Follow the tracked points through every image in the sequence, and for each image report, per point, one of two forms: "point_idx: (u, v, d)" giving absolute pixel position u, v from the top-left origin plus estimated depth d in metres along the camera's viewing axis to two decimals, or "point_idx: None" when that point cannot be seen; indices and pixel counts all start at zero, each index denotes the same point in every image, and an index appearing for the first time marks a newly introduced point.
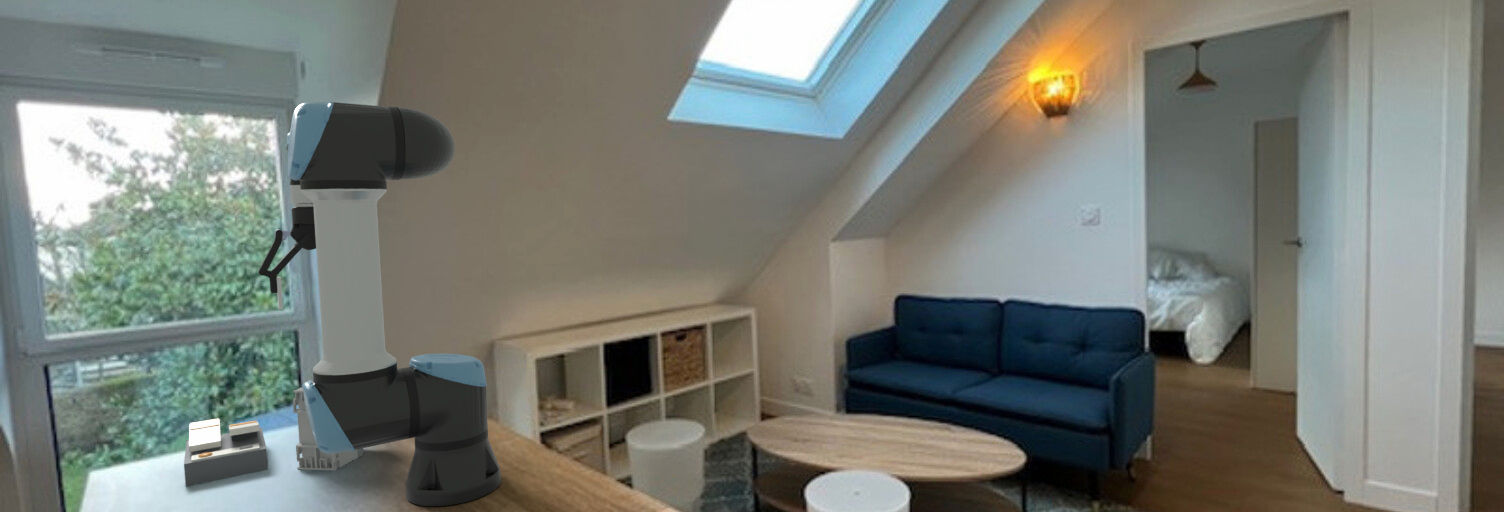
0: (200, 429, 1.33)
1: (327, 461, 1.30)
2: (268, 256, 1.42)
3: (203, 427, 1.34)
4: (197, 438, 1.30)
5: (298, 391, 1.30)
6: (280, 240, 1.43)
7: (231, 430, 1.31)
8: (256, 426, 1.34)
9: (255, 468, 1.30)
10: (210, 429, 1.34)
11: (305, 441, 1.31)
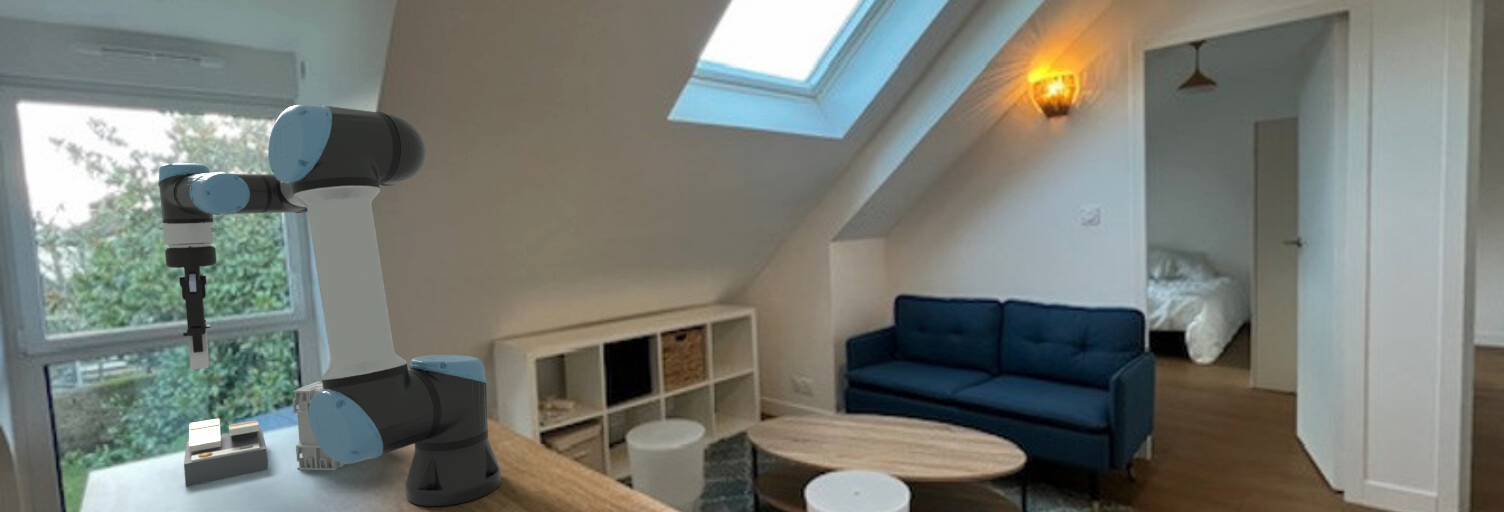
0: (200, 429, 1.33)
1: (327, 461, 1.30)
2: None
3: (203, 427, 1.34)
4: (197, 438, 1.30)
5: (298, 391, 1.30)
6: None
7: (231, 430, 1.31)
8: (256, 426, 1.34)
9: (255, 468, 1.30)
10: (210, 429, 1.34)
11: (305, 441, 1.31)
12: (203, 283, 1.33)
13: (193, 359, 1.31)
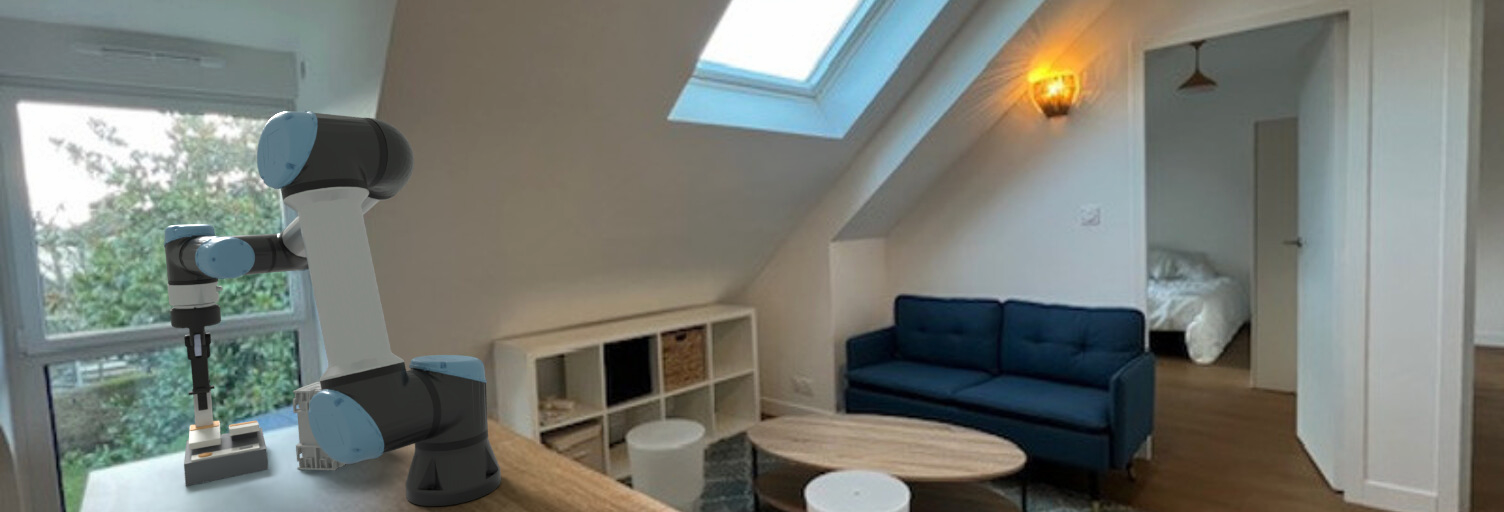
0: (200, 430, 1.33)
1: (327, 461, 1.30)
2: None
3: (203, 428, 1.34)
4: (197, 437, 1.30)
5: (298, 391, 1.30)
6: None
7: (231, 430, 1.31)
8: (256, 426, 1.34)
9: (255, 468, 1.30)
10: (210, 430, 1.34)
11: (305, 441, 1.31)
12: (208, 343, 1.34)
13: (198, 417, 1.35)
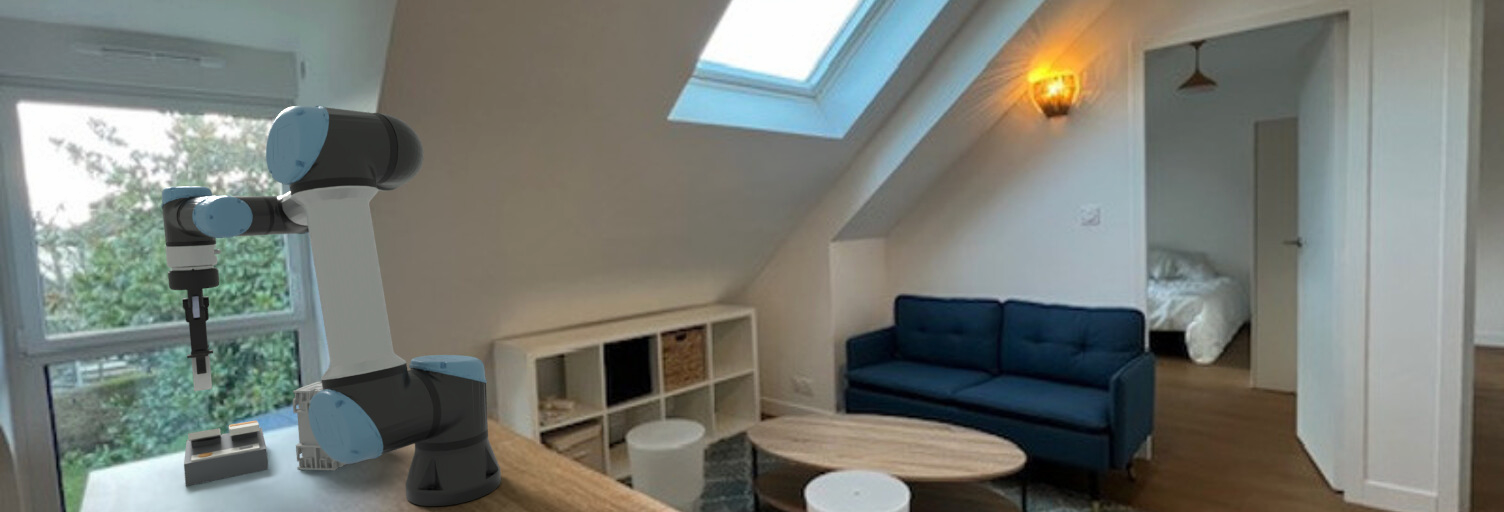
0: None
1: (327, 461, 1.30)
2: None
3: None
4: None
5: (298, 391, 1.30)
6: None
7: (231, 430, 1.31)
8: (256, 426, 1.34)
9: (255, 468, 1.30)
10: None
11: (305, 441, 1.31)
12: (206, 306, 1.33)
13: (197, 381, 1.34)
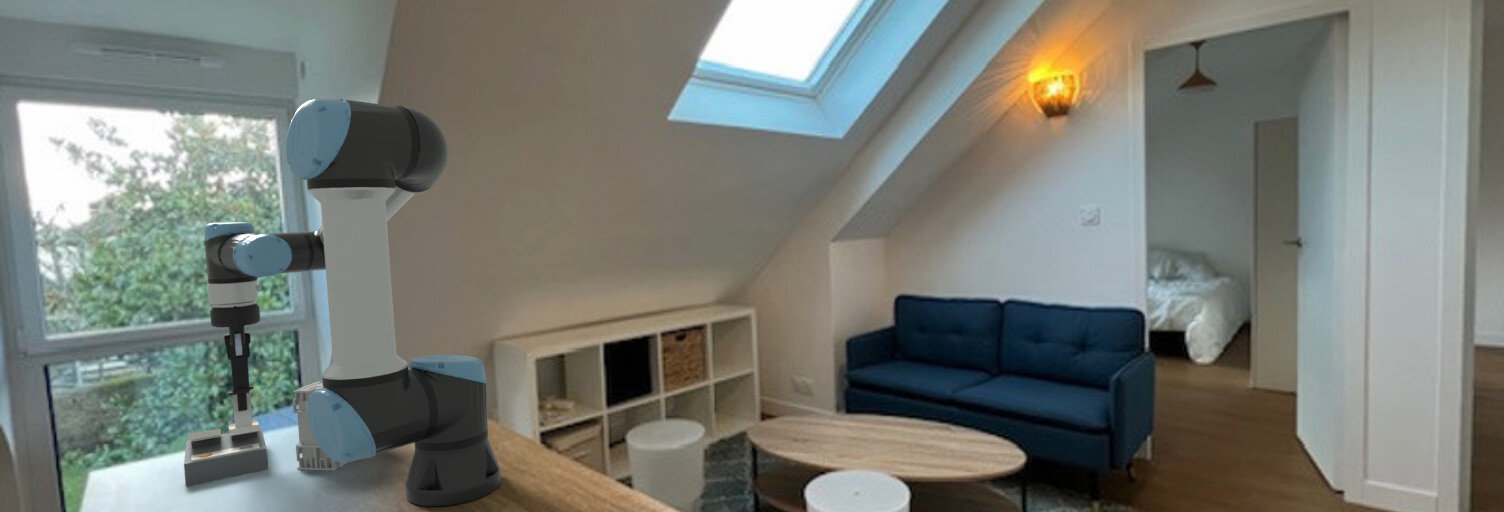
0: None
1: (327, 461, 1.30)
2: None
3: None
4: None
5: (298, 391, 1.30)
6: None
7: (231, 430, 1.31)
8: (256, 426, 1.34)
9: (255, 468, 1.30)
10: None
11: (305, 441, 1.31)
12: (248, 343, 1.32)
13: (238, 418, 1.32)
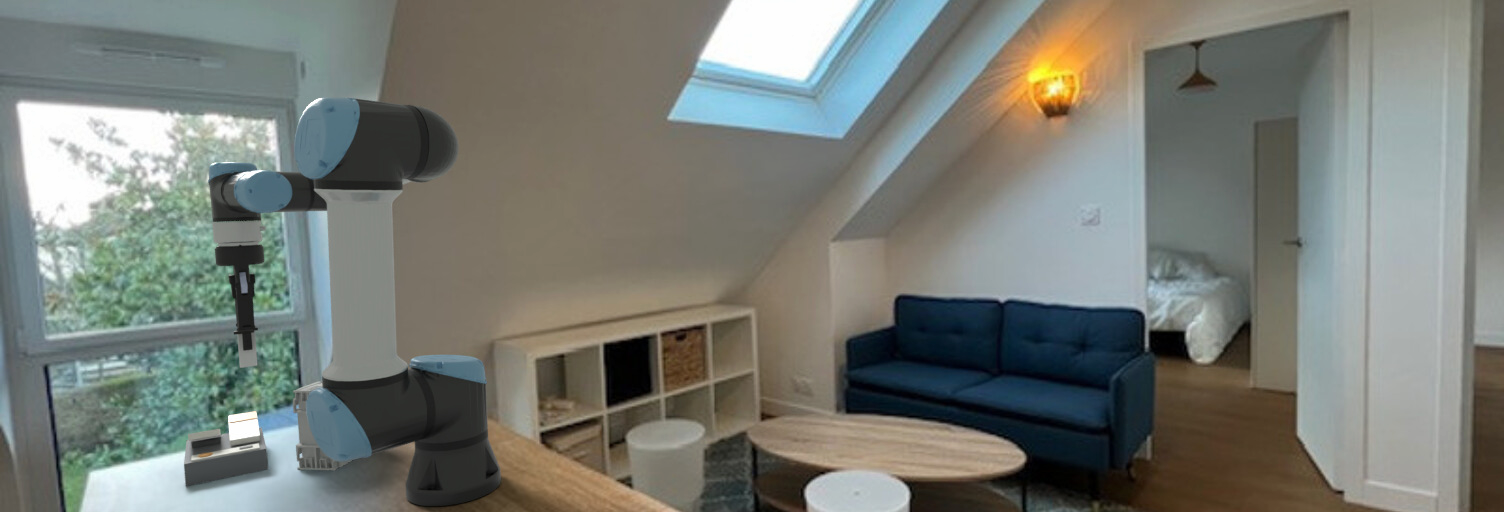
0: None
1: (327, 461, 1.30)
2: (235, 307, 1.36)
3: None
4: None
5: (298, 391, 1.30)
6: None
7: (232, 441, 1.31)
8: (257, 436, 1.34)
9: (255, 468, 1.30)
10: None
11: (305, 441, 1.31)
12: (252, 282, 1.33)
13: (243, 357, 1.34)
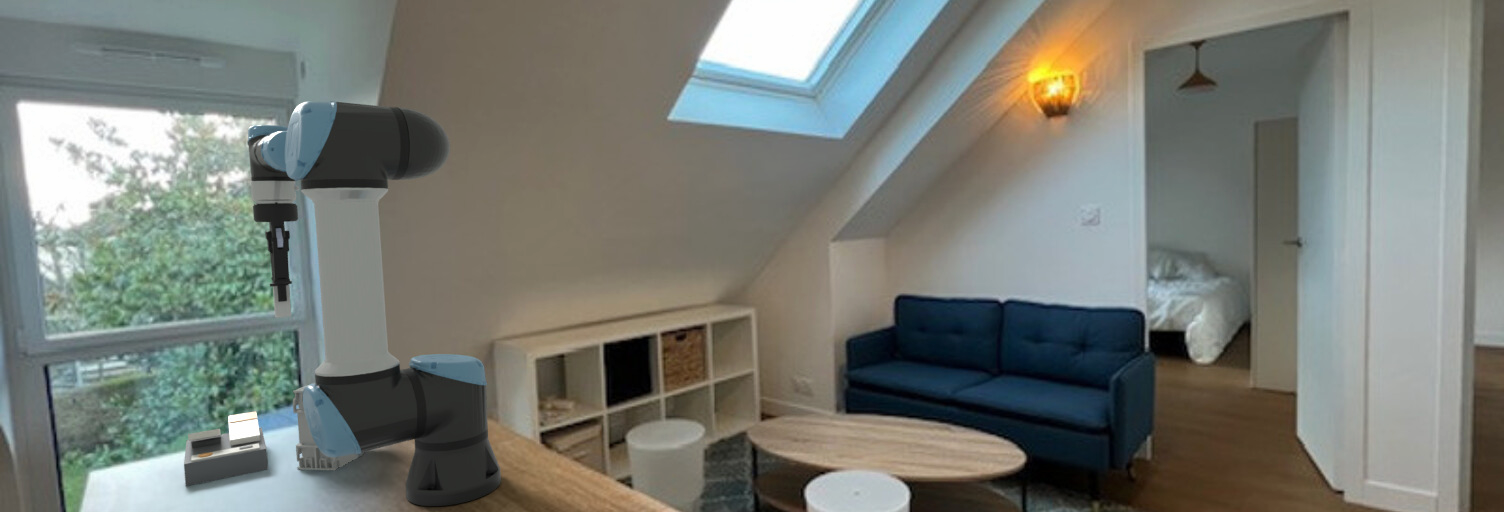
0: None
1: (327, 461, 1.30)
2: (271, 262, 1.46)
3: None
4: None
5: (298, 391, 1.30)
6: None
7: (232, 440, 1.31)
8: (257, 436, 1.34)
9: (255, 468, 1.30)
10: None
11: (305, 441, 1.31)
12: None
13: (278, 308, 1.43)
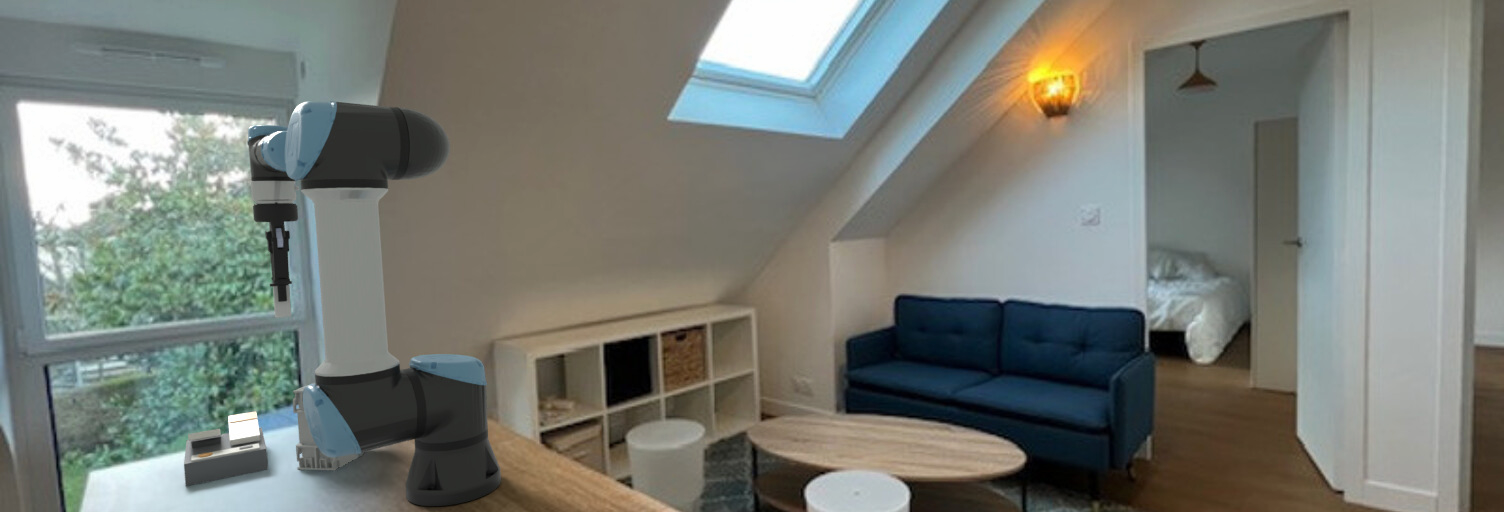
0: None
1: (327, 461, 1.30)
2: (271, 262, 1.46)
3: None
4: None
5: (298, 391, 1.30)
6: None
7: (232, 440, 1.31)
8: (257, 436, 1.34)
9: (255, 468, 1.30)
10: None
11: (305, 441, 1.31)
12: (287, 238, 1.43)
13: (278, 308, 1.43)
